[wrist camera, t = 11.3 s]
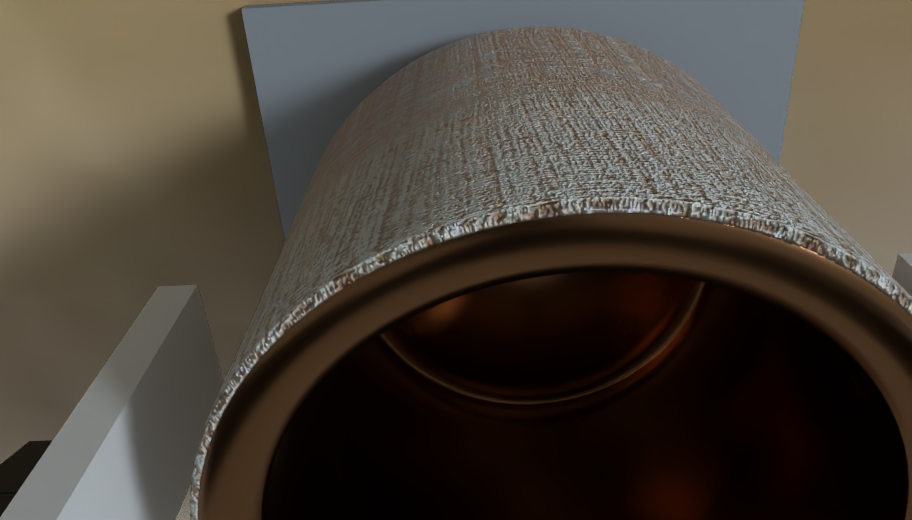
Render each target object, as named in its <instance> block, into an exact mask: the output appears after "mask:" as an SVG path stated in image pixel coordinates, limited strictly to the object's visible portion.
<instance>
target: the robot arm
mask: <svg viewBox="0 0 912 520" xmlns="http://www.w3.org/2000/svg"><path fill="white" fill-rule="evenodd" d="M892 278H894V279H895V280H896V281H897V282H898V283H899V284H900V285H901V286H902V287H903V288H904V289H905V290H906V291H907V292H908V293H909V294H910V295H911V296H912V253H903V254H898V257H897V261H896V265H895V268H894V272H893V276H892ZM223 382H224V381H223V378H222V374H221V370H220V366H219V363H218V359H217V355H216V352H215V348H214V344H213V340H212V337H211V333H210V329H209V326H208V322H207V318H206V314H205V311H204V307H203V303H202V300H201V296H200V292H199V288H198V285H176V286H158V287H157V289H156V290H155V292H154V293H153V295H152V296H151V298H150V299H149V300H148V302H147V303H146V305H145V306H144V308H143V309H142V311H141V312H140V314H139V315H138V317H137V318H136V319H135V321H134V322H133V324H132V325H131V327H130V328H129V330H128V331H127V333H126V334H125V336H124V337H123V338H122V340H121V341H120V343H119V344H118V346H117V347H116V349H115V350H114V352H113V353H112V355H111V356H110V358H109V359H108V360H107V362H106V363H105V365H104V366H103V368H102V369H101V371H100V372H99V374H98V375H97V377H96V378H95V379H94V381H93V382H92V384H91V385H90V387H89V388H88V390H87V391H86V393H85V394H84V396H83V397H82V398H81V400H80V401H79V403H78V404H77V406H76V407H75V409H74V410H73V412H72V413H71V415H70V416H69V417H68V419H67V420H66V422H65V423H64V425H63V426H62V428H61V429H60V431H59V432H58V434H57V435H56V436H55V438H54V439H53V441H29V442H28V443H27V444H25V445H24V446H23V447H22V448H20V449H19V450H18V451H17V452H15V453H14V454H13V455H12V456H10V457H9V458H8V459H7V460H5V461H4V462H3V463H2V464H0V520H175V519H176V517H177V514H178V512H179V510H180V507H181V505H182V502H183V500H184V498H185V495H186V493H187V491H188V488H189V486H190V484H191V481H192V474H193V469H194V463H195V458H196V453H197V450H198V447H199V444H200V440H201V437H202V434H203V431H204V428H205V424H206V421H207V419H208V417H209V414H210V412H211V410H212V408H213V405H214V403H215V401H216V398H217V396H218V394H219V391H220V389H221V387H222V385H223Z"/></svg>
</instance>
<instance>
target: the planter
mask: <svg viewBox="0 0 912 520" xmlns="http://www.w3.org/2000/svg"><path fill="white" fill-rule="evenodd" d="M190 517H191V520H912V296H911V295H910V294H909V293H908V292H907V291H906V290H905V289H904V288H903V287H902V286H901V285H900V284H899V283H898V282H897V281H896V280H895V279H894V278H892V277H891V276H890V275H889V274H888V273H887V272H886V271H885V270H884V269H883V268H882V267H881V266H880V265H879V264H878V263H877V262H876V261H875V260H874V259H873V258H872V257H871V256H870V255H869V254H868V253H867V252H866V251H865V250H864V249H863V248H862V247H861V246H860V245H859V244H858V243H857V242H856V241H855V240H854V239H853V238H852V237H851V236H850V235H849V234H848V233H847V232H846V231H845V230H844V229H843V228H842V227H841V226H840V225H839V224H838V223H837V222H836V221H835V220H834V219H833V218H832V217H831V216H830V215H829V214H828V213H827V212H826V211H825V210H824V209H823V208H822V207H821V206H820V205H819V204H818V203H817V202H816V201H815V200H814V199H813V198H812V197H811V196H810V195H809V194H808V193H807V192H806V191H805V190H804V189H803V188H802V187H801V186H800V185H799V184H798V183H797V182H796V181H795V180H794V179H793V178H792V177H791V176H790V175H789V174H788V173H787V171H786V170H785V169H784V168H783V167H782V166H781V165H780V164H779V163H778V162H777V161H776V160H775V159H774V158H773V157H772V156H771V155H770V154H769V153H768V152H767V151H766V150H765V149H764V147H763V146H762V145H761V144H760V143H759V142H758V141H757V140H756V139H755V138H754V137H753V136H752V135H751V134H750V133H749V132H748V131H747V130H746V129H745V128H744V127H743V126H742V125H741V124H740V123H739V121H738V120H737V119H736V118H735V117H734V116H733V115H732V114H731V113H730V112H729V111H728V110H727V109H726V108H725V107H724V106H723V105H722V104H721V103H720V102H719V101H718V100H717V99H716V98H715V97H714V96H713V95H712V94H710V93H709V92H708V91H707V90H706V89H705V88H704V87H703V86H702V85H701V84H700V83H699V82H697V81H696V80H695V79H694V78H692V77H691V76H690V75H689V74H687V73H686V72H685V71H683V70H682V69H680V68H679V67H677V66H676V65H674V64H672V63H671V62H669V61H668V60H666V59H664V58H662V57H660V56H658V55H657V54H655V53H653V52H651V51H649V50H646V49H644V48H642V47H639V46H637V45H635V44H632V43H629V42H626V41H623V40H620V39H617V38H614V37H611V36H607V35H603V34H599V33H595V32H591V31H587V30H580V29H574V28H567V27H551V26H538V27H518V28H507V29H501V30H495V31H489V32H485V33H481V34H477V35H474V36H470V37H467V38H464V39H461V40H458V41H455V42H452V43H450V44H447V45H445V46H443V47H440V48H438V49H436V50H433V51H431V52H429V53H427V54H425V55H423V56H422V57H420V58H418V59H416V60H414V61H412V62H411V63H409V64H408V65H406V66H405V67H403V68H402V69H400V70H399V71H397V72H396V73H395V74H393V75H392V76H391V77H390V78H388V79H387V80H386V81H384V82H383V83H382V84H381V85H379V86H378V87H377V88H376V89H375V90H374V91H373V92H372V93H370V94H369V95H368V96H367V97H366V98H365V99H364V100H363V101H362V102H361V103H360V104H359V105H358V106H357V107H356V108H355V109H354V110H353V112H352V113H351V114H350V115H349V116H348V117H347V119H346V120H345V121H344V123H343V124H342V125H341V126H340V128H339V129H338V130H337V132H336V134H335V135H334V137H333V138H332V140H331V141H330V143H329V144H328V146H327V148H326V150H325V152H324V153H323V155H322V157H321V159H320V161H319V163H318V166H317V168H316V170H315V172H314V174H313V177H312V179H311V181H310V184H309V186H308V188H307V191H306V193H305V195H304V198H303V200H302V202H301V205H300V207H299V209H298V212H297V214H296V216H295V219H294V221H293V224H292V226H291V228H290V231H289V233H288V236H287V238H286V241H285V243H284V245H283V248H282V250H281V253H280V255H279V257H278V260H277V262H276V265H275V267H274V269H273V272H272V274H271V276H270V279H269V281H268V283H267V286H266V288H265V290H264V293H263V295H262V297H261V300H260V302H259V304H258V306H257V309H256V311H255V313H254V315H253V318H252V320H251V322H250V324H249V327H248V329H247V331H246V333H245V336H244V338H243V340H242V342H241V345H240V347H239V349H238V351H237V353H236V356H235V358H234V360H233V362H232V364H231V367H230V369H229V371H228V373H227V375H226V378H225V380H224V382H223V385H222V387H221V389H220V391H219V394H218V396H217V398H216V401H215V403H214V405H213V408H212V410H211V412H210V414H209V417H208V419H207V421H206V424H205V428H204V431H203V434H202V437H201V440H200V444H199V447H198V450H197V453H196V458H195V463H194V469H193V474H192V481H191V494H190Z"/></svg>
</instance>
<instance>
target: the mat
mask: <svg viewBox="0 0 912 520" xmlns="http://www.w3.org/2000/svg"><path fill="white" fill-rule="evenodd" d="M803 6H804V0H333V1H316V2H299V3H283V4H266V5H249V6H245V7H243V8H242V9H241V11H242V16H243V21H244V27H245V32H246V37H247V43H248V48H249V53H250V58H251V64H252V69H253V74H254V80H255V85H256V90H257V96H258V101H259V106H260V112H261V117H262V122H263V128H264V133H265V138H266V144H267V149H268V154H269V160H270V165H271V170H272V176H273V181H274V186H275V192H276V197H277V202H278V208H279V213H280V218H281V224H282V229H283V234H284V239H285V241H286V238H287V236H288V233H289V231H290V228H291V226H292V224H293V221H294V219H295V216H296V214H297V212H298V209H299V207H300V205H301V202H302V200H303V198H304V195H305V193H306V191H307V188H308V186H309V184H310V181H311V179H312V177H313V174H314V172H315V170H316V168H317V166H318V163H319V161H320V159H321V157H322V155H323V153H324V152H325V150H326V148H327V146H328V144H329V143H330V141H331V140H332V138H333V137H334V135H335V134H336V132H337V130H338V129H339V128H340V126H341V125H342V124H343V123H344V121H345V120H346V119H347V117H348V116H349V115H350V114H351V113H352V112H353V110H354V109H355V108H356V107H357V106H358V105H359V104H360V103H361V102H362V101H363V100H364V99H365V98H366V97H367V96H368V95H369V94H370V93H372V92H373V91H374V90H375V89H376V88H377V87H378V86H379V85H381V84H382V83H383V82H384V81H386V80H387V79H388V78H390V77H391V76H392V75H393V74H395V73H396V72H397V71H399V70H400V69H402V68H403V67H405V66H406V65H408V64H409V63H411V62H412V61H414V60H416V59H418V58H420V57H422V56H423V55H425V54H427V53H429V52H431V51H433V50H436V49H438V48H440V47H443V46H445V45H447V44H450V43H452V42H455V41H458V40H461V39H464V38H467V37H470V36H474V35H477V34H481V33H485V32H489V31H495V30H501V29H507V28H518V27H538V26H551V27H567V28H574V29H580V30H587V31H591V32H595V33H599V34H603V35H607V36H611V37H614V38H617V39H620V40H623V41H626V42H629V43H632V44H635V45H637V46H639V47H642V48H644V49H646V50H649V51H651V52H653V53H655V54H657V55H658V56H660V57H662V58H664V59H666V60H668V61H669V62H671V63H672V64H674V65H676V66H677V67H679V68H680V69H682V70H683V71H685V72H686V73H687V74H689V75H690V76H691V77H692V78H694V79H695V80H696V81H697V82H699V83H700V84H701V85H702V86H703V87H704V88H705V89H706V90H707V91H708V92H709V93H710V94H712V95H713V96H714V97H715V98H716V99H717V100H718V101H719V102H720V103H721V104H722V105H723V106H724V107H725V108H726V109H727V110H728V111H729V112H730V113H731V114H732V115H733V116H734V117H735V118H736V119H737V120H738V121H739V123H740V124H741V125H742V126H743V127H744V128H745V129H746V130H747V131H748V132H749V133H750V134H751V135H752V136H753V137H754V138H755V139H756V140H757V141H758V142H759V143H760V144H761V145H762V146H763V147H764V149H765V150H766V151H767V152H768V153H769V154H770V155H771V156H772V157H773V158H774V159H775V160H776V161H777V162H778V163H779V161H780V155H781V148H782V142H783V135H784V129H785V122H786V116H787V109H788V103H789V97H790V90H791V84H792V77H793V71H794V64H795V58H796V51H797V45H798V38H799V32H800V26H801V19H802V13H803Z"/></svg>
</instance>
